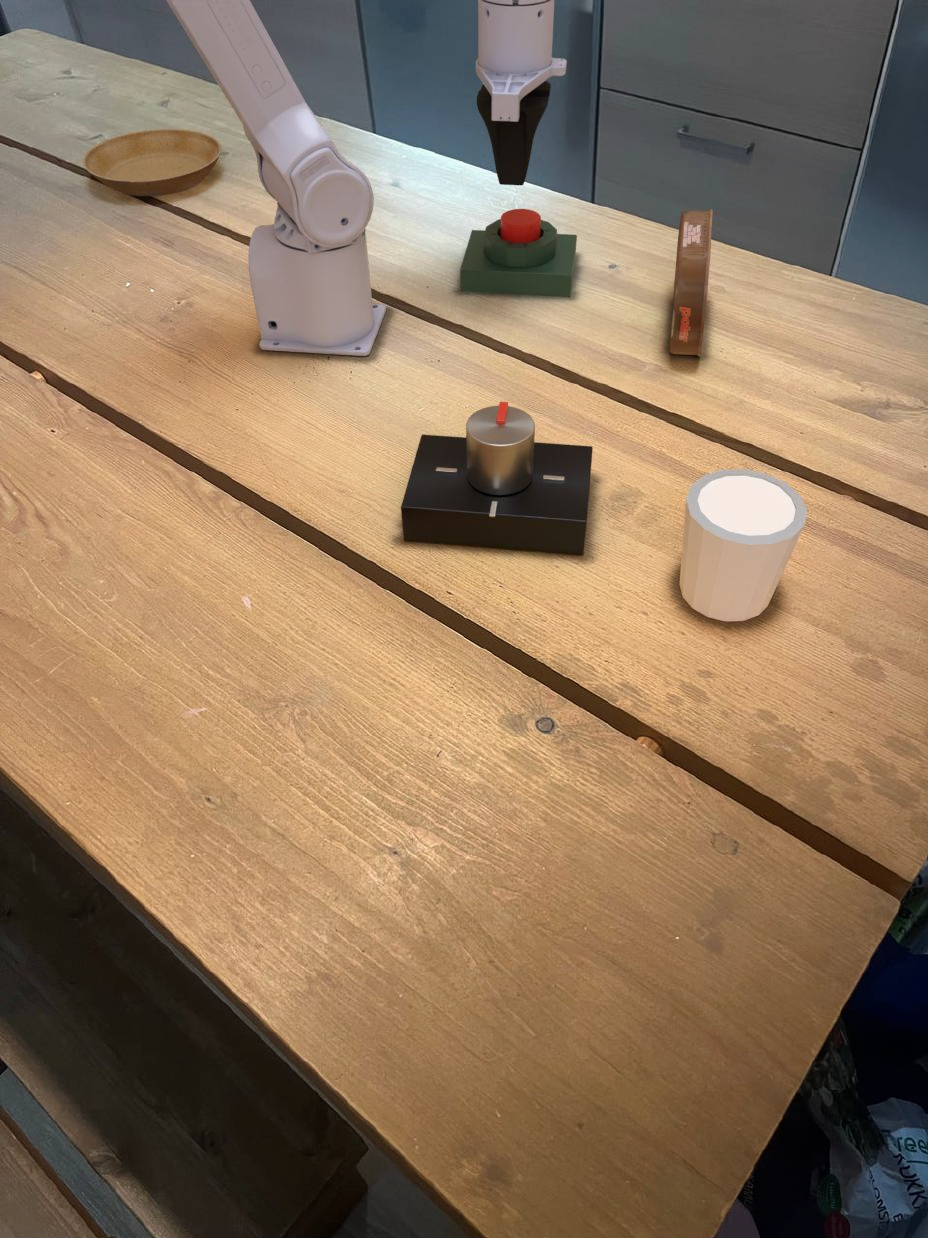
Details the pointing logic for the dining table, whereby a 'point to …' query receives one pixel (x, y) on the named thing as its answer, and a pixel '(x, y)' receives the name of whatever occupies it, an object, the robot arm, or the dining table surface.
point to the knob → (500, 449)
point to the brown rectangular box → (691, 282)
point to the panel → (498, 501)
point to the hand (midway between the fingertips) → (512, 181)
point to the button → (520, 226)
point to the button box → (519, 263)
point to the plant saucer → (153, 161)
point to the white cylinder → (737, 541)
